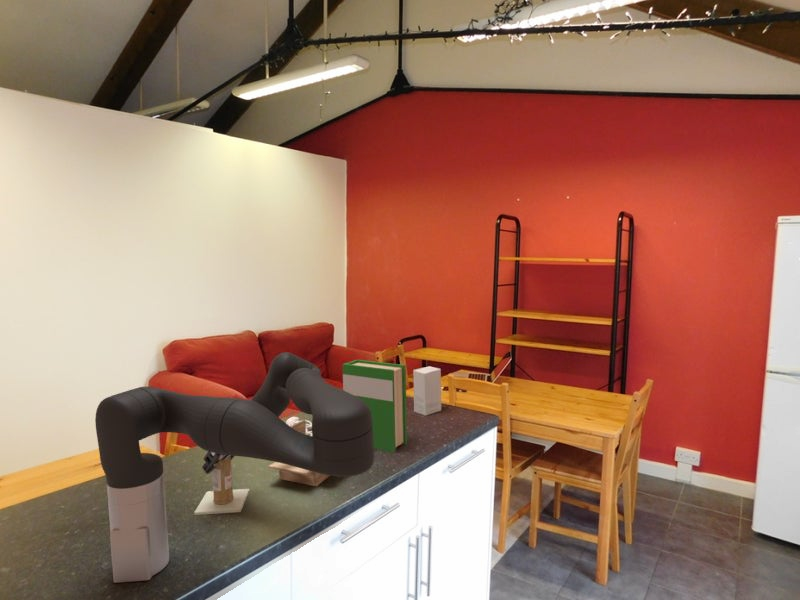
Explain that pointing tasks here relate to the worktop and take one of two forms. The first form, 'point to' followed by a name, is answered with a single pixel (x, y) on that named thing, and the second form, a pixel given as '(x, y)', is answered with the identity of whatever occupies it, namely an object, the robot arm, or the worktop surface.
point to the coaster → (233, 506)
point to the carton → (298, 473)
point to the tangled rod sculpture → (295, 420)
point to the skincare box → (427, 390)
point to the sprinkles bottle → (222, 482)
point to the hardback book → (380, 398)
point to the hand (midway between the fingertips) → (215, 465)
